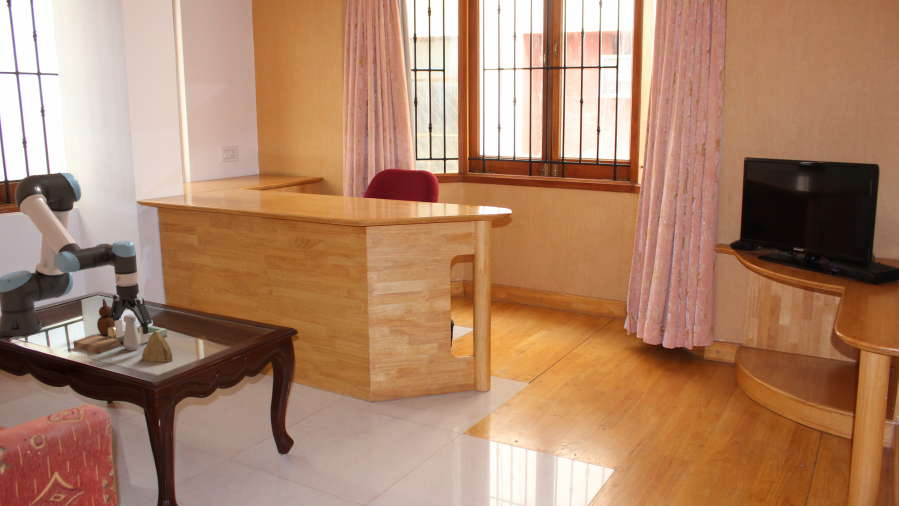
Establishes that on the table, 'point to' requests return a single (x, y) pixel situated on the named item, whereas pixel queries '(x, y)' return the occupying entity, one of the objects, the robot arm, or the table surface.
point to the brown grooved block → (97, 344)
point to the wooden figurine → (104, 319)
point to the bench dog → (111, 333)
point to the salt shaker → (131, 333)
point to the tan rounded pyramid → (157, 349)
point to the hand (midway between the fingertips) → (132, 339)
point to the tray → (150, 332)
